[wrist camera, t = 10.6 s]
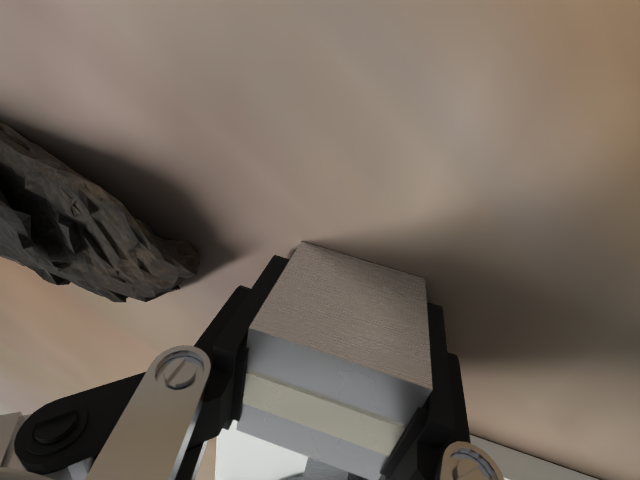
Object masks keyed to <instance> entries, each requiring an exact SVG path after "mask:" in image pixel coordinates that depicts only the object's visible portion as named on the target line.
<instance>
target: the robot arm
mask: <svg viewBox="0 0 640 480" xmlns="http://www.w3.org/2000/svg"><path fill="white" fill-rule="evenodd" d="M289 261H290V260H289V259H286V258H283V257H280V256H276V255H274V256H273V258H272V259H271V261H270V262H269V263H268V265H267V266H266V268H265V269H264V271H263V272H262V274H261V275H260V277H259V278H258V280H257V281H256V283H255V284H254V286H253V287H252V289H250V288H247V287H244V286H241V285H240V286H239V287H238V288H237V289H236V290H235V291H234V292H233V294H232V295H231V297H230V298H229V299H228V301H227V302H226V303H225V305H224V306H223V307H222V309H221V310H220V311H219V313H218V314H217V315H216V317H215V318H214V319H213V321H212V322H211V324H210V325H209V326H208V328H207V329H206V330H205V332H204V333H203V334H202V336H201V337H200V338H199V340H198V341H197V342H196V344H195V345H194V346H184V345H182V346H177V347H173V348H170V349H168V350H166V351H164V352H162V353H161V354H160V355H158V356H157V357H156V358H155V360H154V361H153V362H152V363H151V365H150V367H149V368H148V370H147V372H144V373H141V374H138V375H134V376H131V377H128V378H125V379H122V380H118V381H115V382H112V383H109V384H106V385H102V386H99V387H96V388H93V389H90V390H86V391H83V392H80V393H77V394H74V395H70V396H67V397H64V398H61V399H58V400H55V401H53V402H51V403H48V404H46V405H44V406H43V407H41V408H40V409H38V410H37V411H35V412H34V413H33V414H30V415H25V416H23V415H22V413H21V412H17V413H11V414H5V415H0V480H195V478H196V475H197V472H198V469H199V466H200V463H201V460H202V457H203V454H204V451H205V447H206V444H207V441H208V440H209V439H211V438H214V437H216V436H218V435H219V434H220V432H221V430H222V428H223V429H226V430H229V428H230V426H231V424H232V422H233V420H236V421H240V414H241V407H242V399H243V391H244V383H245V376H246V368H247V360H248V352H249V348H246V346H247V338H248V330H249V326H250V325H251V323H252V322H253V320H254V318H255V317H256V315H257V313H258V312H259V310H260V308H261V307H262V305H263V303H264V302H265V300H266V299H267V297H268V295H269V294H270V292H271V290H272V289H273V287H274V285H275V284H276V282H277V280H278V279H279V277H280V275H281V274H282V272H283V271H284V269H285V267H286V266H287V264H288V262H289ZM427 313H428V328H429V343H430V358H431V373H432V388H433V390H432V391H431V393H430V395H429V396H428V398H427V400H426V401H425V403H424V405H423V406H422V408H420V407H418V408H417V410H416V412H415V413H414V415H413V417H412V418H411V420H410V422H409V424H408V425H407V427H406V429H405V430H404V432H403V434H402V435H401V437H400V439H399V440H398V442H397V444H396V446H395V447H394V449H393V451H392V452H391V454H390V456H389V457H388V459H387V461H386V462H385V464H384V466H383V468H382V469H381V471H380V474H382V475H384V476H385V480H505V479H504V477H503V475H502V472H501V470H500V469H499V468H498V466H497V465H496V463H495V462H494V460H493V459H492V458H491V457H490V456H489V455H488V454H487V453H486V452H485V451H483V450H482V449H480V448H479V447H477V446H476V445H473V444H471V442H470V435H469V428H468V421H467V414H466V407H465V400H464V393H463V386H462V378H461V371H460V364H459V360H458V357H457V356H456V355H454V354H451V353H448V352H447V346H446V336H445V327H444V318H443V309H442V307H441V306H438V305H434V304H431V303H428V302H427Z"/></svg>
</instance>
